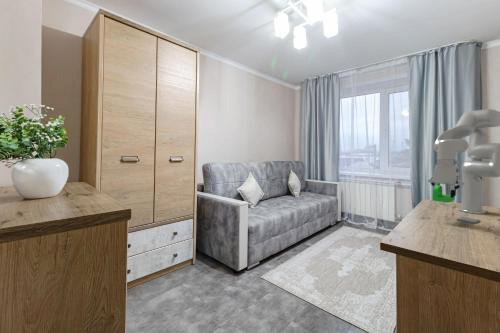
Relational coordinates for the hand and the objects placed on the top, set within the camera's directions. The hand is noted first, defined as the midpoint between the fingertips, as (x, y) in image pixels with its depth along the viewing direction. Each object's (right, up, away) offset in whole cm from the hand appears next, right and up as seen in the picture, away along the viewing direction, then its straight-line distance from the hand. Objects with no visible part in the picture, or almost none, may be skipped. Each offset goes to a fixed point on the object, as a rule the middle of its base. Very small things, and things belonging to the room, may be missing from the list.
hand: (444, 195), depth 123 cm
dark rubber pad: (+13, -14, 0) cm, 19 cm away
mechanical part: (0, -2, 0) cm, 3 cm away
